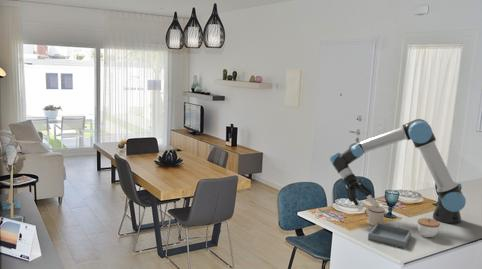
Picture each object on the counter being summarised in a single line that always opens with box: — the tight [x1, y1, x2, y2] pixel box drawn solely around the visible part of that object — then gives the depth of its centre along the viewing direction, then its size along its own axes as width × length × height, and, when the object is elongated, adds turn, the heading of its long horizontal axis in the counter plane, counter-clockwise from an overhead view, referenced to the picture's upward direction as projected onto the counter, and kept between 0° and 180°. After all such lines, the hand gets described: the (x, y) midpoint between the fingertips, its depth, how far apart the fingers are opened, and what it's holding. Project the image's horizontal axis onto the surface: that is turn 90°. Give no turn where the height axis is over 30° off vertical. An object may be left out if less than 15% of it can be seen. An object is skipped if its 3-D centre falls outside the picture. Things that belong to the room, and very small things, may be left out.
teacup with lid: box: [364, 203, 386, 227], centre depth 238 cm, size 12×9×12 cm
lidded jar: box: [417, 217, 441, 238], centre depth 222 cm, size 11×11×9 cm
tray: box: [367, 223, 413, 249], centre depth 217 cm, size 18×18×4 cm
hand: (368, 207), depth 239 cm, fingers open, 13 cm apart
